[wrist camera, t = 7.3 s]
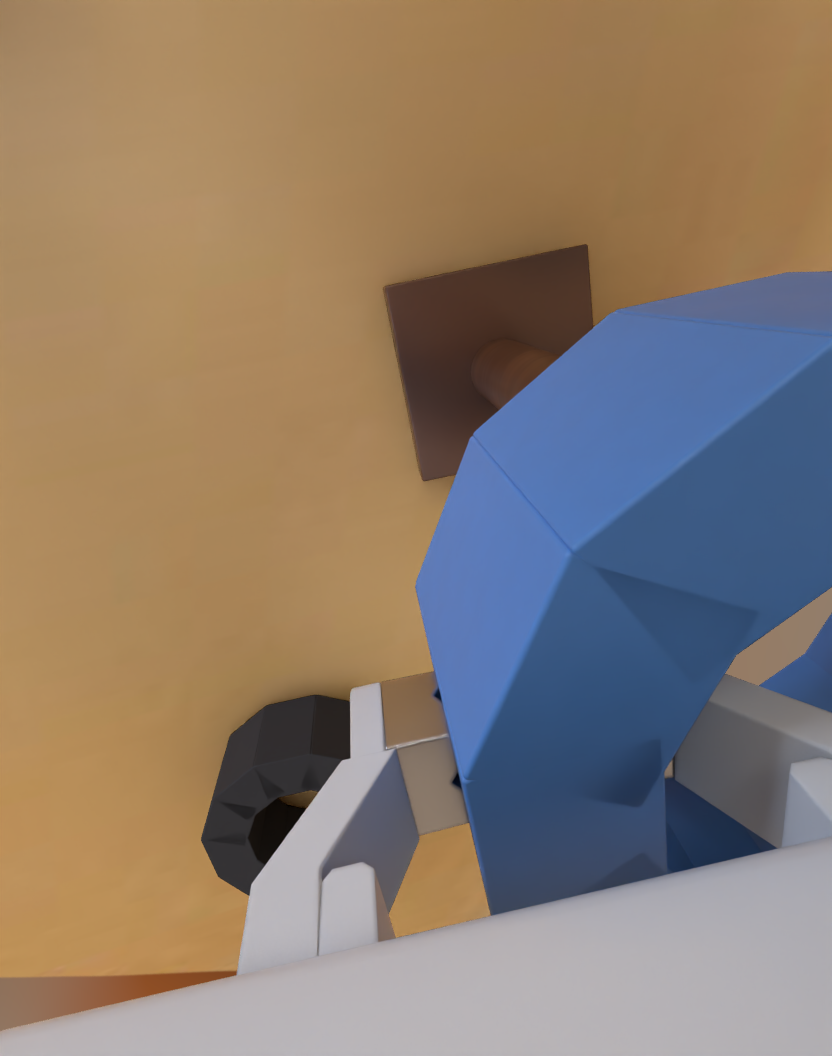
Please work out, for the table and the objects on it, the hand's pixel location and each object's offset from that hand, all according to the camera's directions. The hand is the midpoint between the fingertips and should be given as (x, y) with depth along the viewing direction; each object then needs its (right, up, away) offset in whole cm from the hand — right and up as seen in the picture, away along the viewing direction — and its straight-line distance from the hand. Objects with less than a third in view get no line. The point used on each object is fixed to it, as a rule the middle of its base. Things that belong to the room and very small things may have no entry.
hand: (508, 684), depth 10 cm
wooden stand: (+2, +11, +18) cm, 21 cm away
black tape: (-8, -12, +26) cm, 30 cm away
